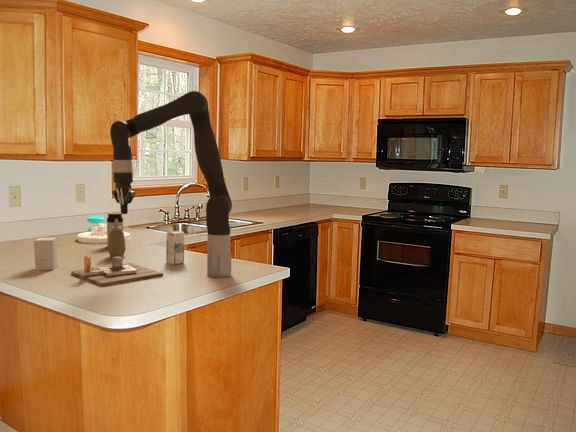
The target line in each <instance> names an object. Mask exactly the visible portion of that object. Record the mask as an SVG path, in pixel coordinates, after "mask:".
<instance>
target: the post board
mask: <svg viewBox="0 0 576 432" xmlns="http://www.w3.org/2000/svg"><path fill="white" fill-rule="evenodd" d="M126 264H127V265H129V266H131V267H133V268H135V269H136V270H137V273H131V274H122V275H113V276H106V275H104V274H98V275H89V276H84V275H83V271H84V269H79V270H72V271H70V274H71V275H72V276H74V277H77V278H80V279H83V280H84V281H87V282H90V283H93V284H94V285H97V286H100V287H101V288H102V287H108V286H113V285H120V284H126V283H130V282H137V281H138V282H139V281H144V280H147V279H156V278H160V277H163V276H164V273H163V272H160V271H157V270H155V269H152V268H148V267H144V266H141V265H138V264H135V263H131V262H127V263H123V257H111V266H112V271H115V270H122V265H126ZM107 266H108V265H107ZM107 266H104V267H107ZM93 270H98V267H93Z"/></svg>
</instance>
